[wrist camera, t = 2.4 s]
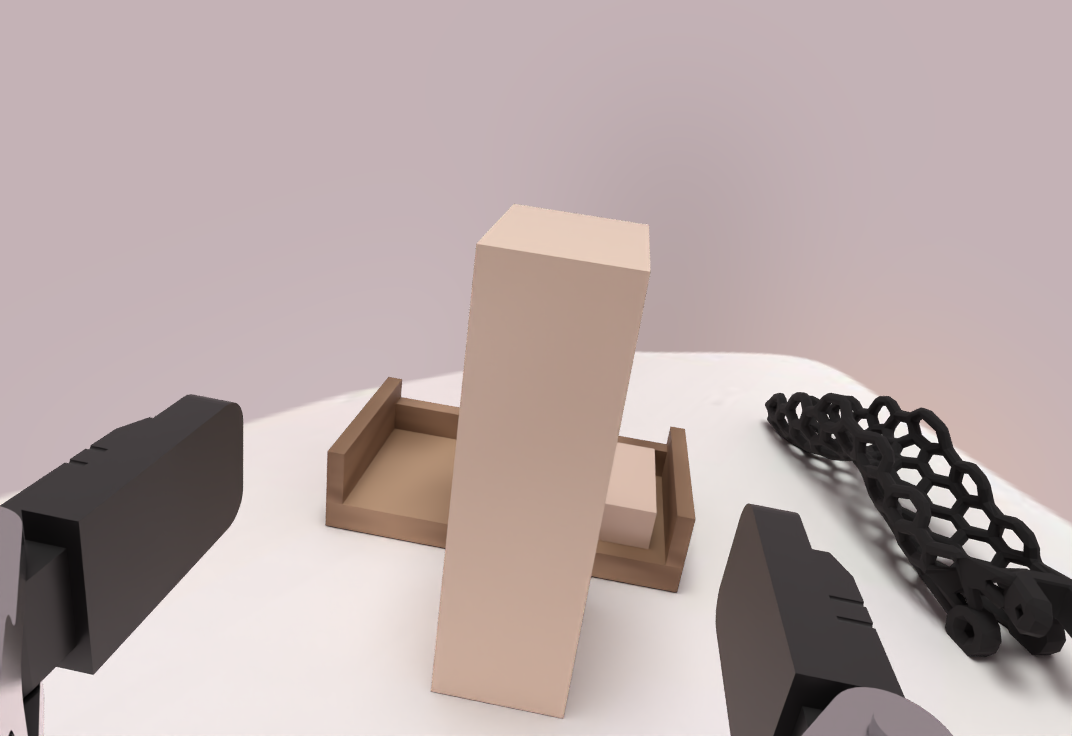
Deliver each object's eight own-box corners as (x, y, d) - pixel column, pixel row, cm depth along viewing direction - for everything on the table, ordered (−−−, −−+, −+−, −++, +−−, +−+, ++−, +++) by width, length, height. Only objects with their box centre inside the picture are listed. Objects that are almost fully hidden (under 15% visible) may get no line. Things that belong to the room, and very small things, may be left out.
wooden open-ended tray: (670, 491, 38) (684, 429, 37) (677, 592, 31) (695, 519, 30) (384, 439, 39) (388, 376, 38) (325, 525, 32) (327, 451, 31)
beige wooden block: (577, 598, 30) (648, 225, 24) (563, 718, 24) (650, 272, 19) (469, 577, 30) (514, 203, 24) (430, 691, 25) (476, 243, 19)
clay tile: (647, 481, 37) (654, 448, 36) (648, 549, 31) (656, 513, 31) (558, 465, 37) (563, 432, 36) (544, 529, 32) (550, 493, 31)
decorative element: (744, 425, 48) (766, 339, 45) (816, 427, 49) (841, 343, 46) (1001, 717, 27) (1064, 588, 25) (1115, 710, 28) (1186, 585, 26)
